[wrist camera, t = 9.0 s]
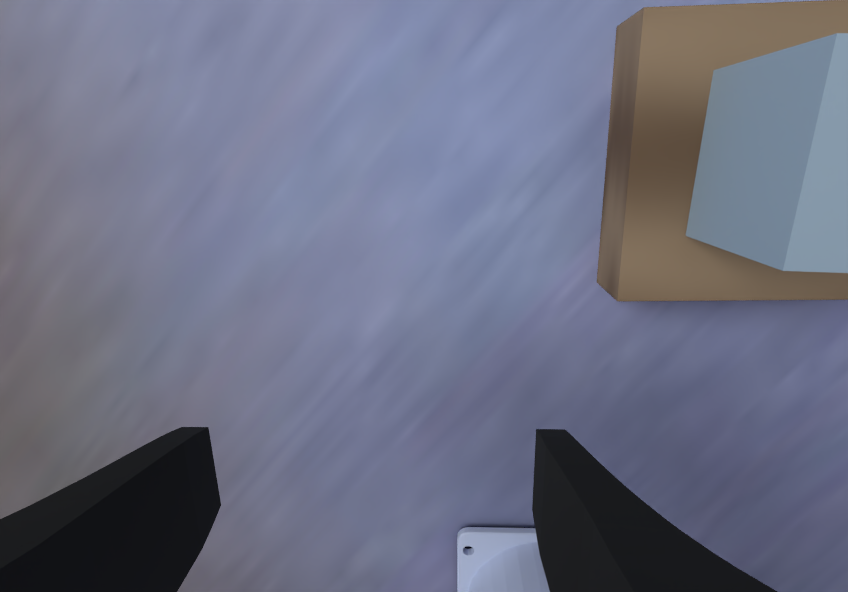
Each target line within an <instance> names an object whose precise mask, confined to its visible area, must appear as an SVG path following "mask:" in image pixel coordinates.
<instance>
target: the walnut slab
mask: <svg viewBox="0 0 848 592" xmlns="http://www.w3.org/2000/svg"><path fill="white" fill-rule="evenodd" d="M836 33H848V0H829V1H803V2H776V3H749V4H723V5H696V6H670V7H644V8H643V9H641V10H640V11H638V12H637V13H635V14H634V15H633V16H631V17H630V18H628V19H627V20H626V21H624V22H623V23H621V24H620V25H618V26H617V30H616V43H615V56H614V69H613V81H612V94H611V107H610V120H609V133H608V145H607V158H606V171H605V184H604V197H603V209H602V222H601V235H600V248H599V261H598V273H597V283H598V284H599V285H600V286H601V287H603V288H604V289H605V290H606V291H607V292H608V293H609V294H610V295H611V296H612V297H613V298H614V299H615V300H616V301H717V300H847V299H848V273H831V272H801V271H782V270H779V269H776V268H773V267H771V266H768V265H765V264H762V263H759V262H757V261H754V260H751V259H748V258H746V257H743V256H740V255H737V254H735V253H732V252H729V251H726V250H723V249H721V248H718V247H715V246H712V245H710V244H707V243H704V242H701V241H699V240H696V239H693V238H690V237H687V236H686V230H687V224H688V218H689V212H690V206H691V200H692V194H693V189H694V183H695V177H696V171H697V165H698V159H699V153H700V147H701V141H702V135H703V130H704V124H705V118H706V112H707V106H708V100H709V94H710V88H711V82H712V77H713V71H714V70H716V69H719V68H723V67H726V66H729V65H733V64H736V63H739V62H743V61H746V60H749V59H753V58H756V57H759V56H763V55H766V54H769V53H773V52H776V51H779V50H783V49H786V48H789V47H793V46H796V45H799V44H803V43H806V42H809V41H813V40H816V39H819V38H823V37H826V36H829V35H833V34H836Z"/></svg>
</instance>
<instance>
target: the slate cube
mask: <svg viewBox="0 0 848 592" xmlns="http://www.w3.org/2000/svg"><path fill="white" fill-rule="evenodd" d="M686 236H687V237H690V238H693V239H696V240H699V241H701V242H704V243H707V244H710V245H712V246H715V247H718V248H721V249H723V250H726V251H729V252H732V253H735V254H737V255H740V256H743V257H746V258H748V259H751V260H754V261H757V262H759V263H762V264H765V265H768V266H771V267H773V268H776V269H779V270H782V271H801V272H831V273H848V33H836V34H833V35H829V36H826V37H823V38H819V39H816V40H813V41H809V42H806V43H803V44H799V45H796V46H793V47H789V48H786V49H783V50H779V51H776V52H773V53H769V54H766V55H763V56H759V57H756V58H753V59H749V60H746V61H743V62H739V63H736V64H733V65H729V66H726V67H723V68H719V69H716V70H714V71H713V77H712V82H711V88H710V94H709V100H708V106H707V112H706V118H705V124H704V130H703V135H702V141H701V147H700V153H699V159H698V165H697V171H696V177H695V183H694V189H693V194H692V200H691V206H690V212H689V218H688V224H687V230H686Z"/></svg>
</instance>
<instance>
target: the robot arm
mask: <svg viewBox="0 0 848 592" xmlns="http://www.w3.org/2000/svg"><path fill="white" fill-rule="evenodd" d="M220 506H221V502H220V496H219V490H218V484H217V478H216V472H215V466H214V459H213V453H212V447H211V441H210V435H209V429H208V427H181V428H178V429H176V430H174V431H171V432H169V433H167V434H165V435H163V436H161V437H159V438H157V439H155V440H153V441H151V442H150V443H148V444H146V445H144V446H142V447H140V448H138V449H137V450H135V451H133V452H131V453H129V454H127V455H126V456H124V457H122V458H120V459H118V460H116V461H115V462H113V463H111V464H109V465H107V466H105V467H104V468H102V469H100V470H98V471H96V472H94V473H92V474H91V475H89V476H87V477H85V478H83V479H81V480H79V481H77V482H75V483H73V484H71V485H69V486H67V487H65V488H63V489H61V490H59V491H58V492H56V493H54V494H52V495H50V496H48V497H46V498H44V499H42V500H40V501H38V502H36V503H34V504H32V505H30V506H28V507H26V508H24V509H22V510H19V511H17V512H15V513H13V514H11V515H9V516H6V517H4V518H2V519H0V592H177V591H178V589H179V587H180V586H181V584H182V582H183V581H184V579H185V577H186V576H187V574H188V572H189V570H190V569H191V567H192V565H193V564H194V562H195V560H196V559H197V557H198V555H199V553H200V552H201V550H202V548H203V546H204V543H205V541H206V539H207V537H208V535H209V532H210V530H211V528H212V526H213V523H214V521H215V518H216V516H217V514H218V511H219V509H220ZM532 510H533V517H534V523H535V528H491V527H466V528H463V529H461V530H460V531H459V532H458V535H457V592H777V591H775V590H774V589H772V588H770V587H768V586H767V585H765V584H763V583H762V582H760V581H758V580H757V579H755V578H753V577H751V576H750V575H748V574H746V573H745V572H743V571H741V570H740V569H738V568H736V567H735V566H733V565H731V564H730V563H728V562H727V561H725V560H724V559H722V558H720V557H719V556H717V555H716V554H714V553H713V552H711V551H710V550H708V549H707V548H705V547H704V546H702V545H701V544H700V543H698V542H697V541H695V540H694V539H692V538H691V537H689V536H688V535H686V534H685V533H684V532H682V531H681V530H679V529H678V528H677V527H675V526H674V525H673V524H671V523H670V522H669V521H667V520H666V519H665V518H663V517H662V516H661V515H660V514H658V513H657V512H656V511H655V510H653V509H652V508H651V507H650V506H648V505H647V504H646V503H645V502H643V501H642V500H641V499H640V498H638V497H637V496H636V495H635V494H634V493H633V492H631V491H630V490H629V489H628V488H627V487H626V486H624V485H623V484H622V483H621V482H620V481H619V480H618V479H617V478H615V477H614V476H613V475H612V474H611V473H610V472H609V471H608V470H607V469H606V468H605V467H604V466H602V465H601V464H600V463H599V462H598V461H597V460H596V459H595V458H594V457H593V456H592V455H591V454H590V453H589V452H588V451H587V450H586V449H585V448H584V447H583V446H582V445H581V444H580V443H579V442H578V441H577V440H576V439H575V438H574V437H573V436H571V435H570V434H569V433H568V432H567V431H566V430H555V429H536V446H535V467H534V487H533V508H532ZM466 546H470V547H472V548H470V549H466V548H464V547H466Z"/></svg>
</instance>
